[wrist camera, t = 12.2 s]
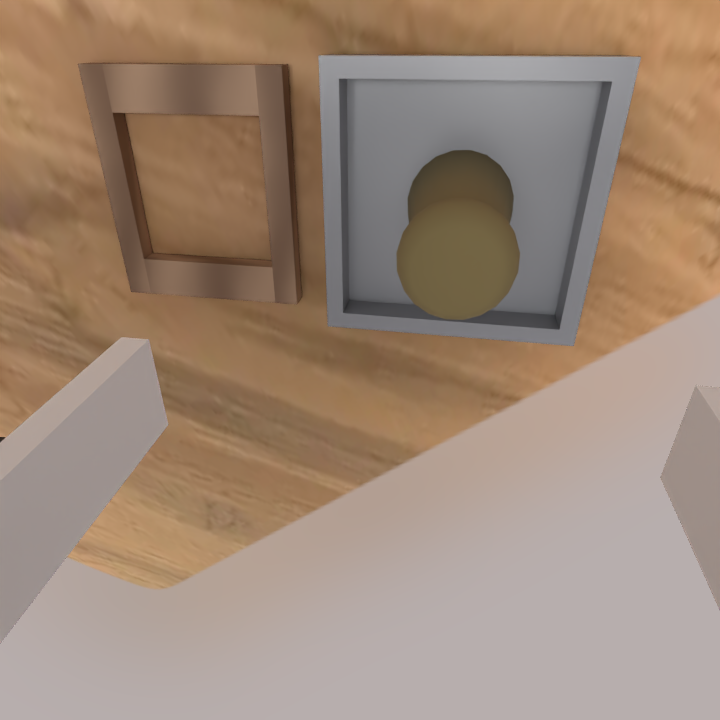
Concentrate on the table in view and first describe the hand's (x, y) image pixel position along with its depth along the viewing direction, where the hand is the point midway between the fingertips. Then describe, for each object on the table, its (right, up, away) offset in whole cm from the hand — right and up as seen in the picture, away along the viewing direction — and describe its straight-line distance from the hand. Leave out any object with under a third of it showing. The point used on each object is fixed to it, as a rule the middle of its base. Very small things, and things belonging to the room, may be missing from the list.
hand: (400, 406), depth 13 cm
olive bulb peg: (+5, +10, +18) cm, 21 cm away
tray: (+5, +11, +18) cm, 22 cm away
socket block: (-11, +12, +21) cm, 26 cm away
